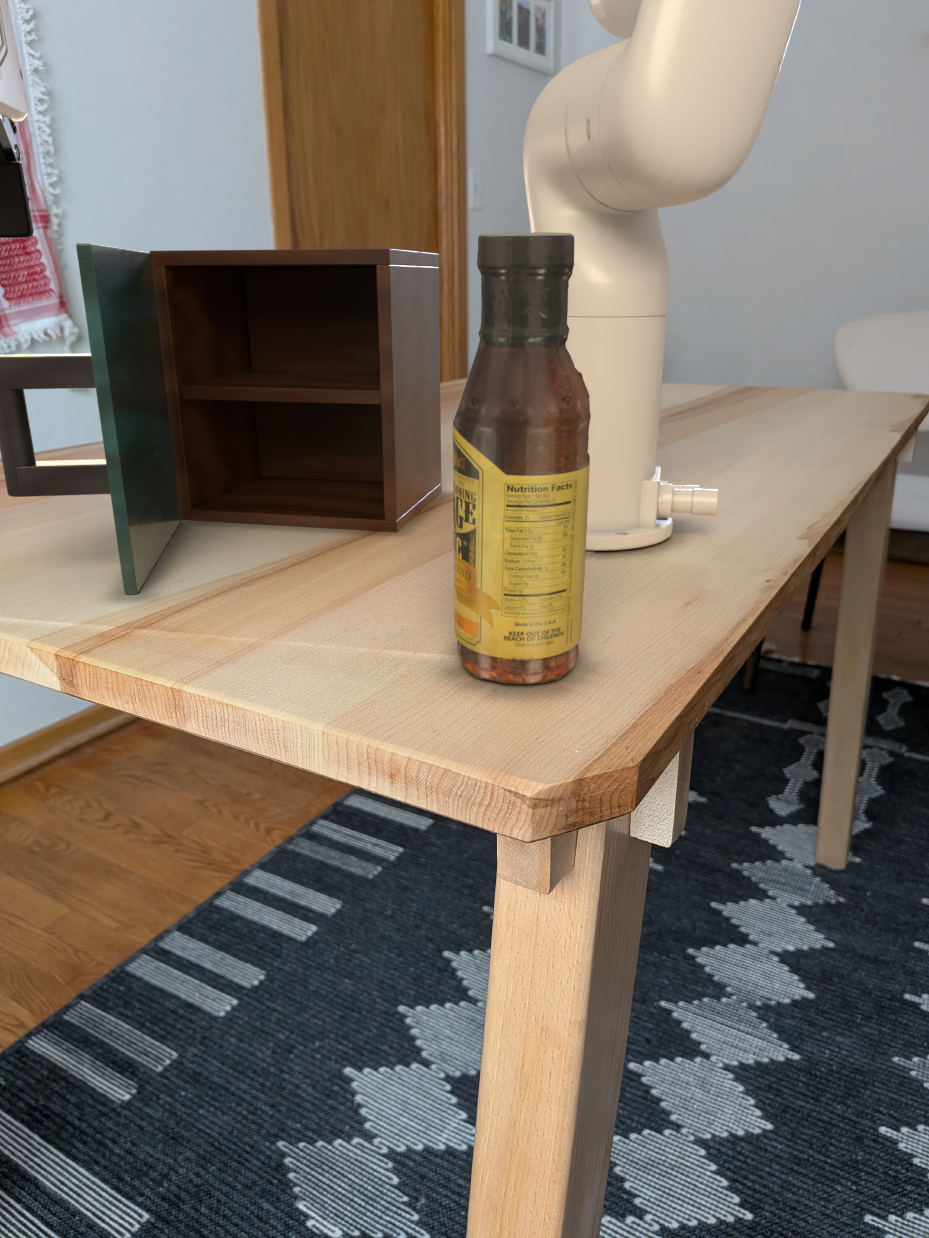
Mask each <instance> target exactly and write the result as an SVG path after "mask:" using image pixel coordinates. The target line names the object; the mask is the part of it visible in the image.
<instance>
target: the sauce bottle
mask: <svg viewBox="0 0 929 1238" xmlns="http://www.w3.org/2000/svg"><path fill="white" fill-rule="evenodd" d="M476 266H477V269H478V271H479V273H480V278H481V279H480V280H481V283H480V288H481V290H480V291H481V293H480V296H481V307H480V308H481V310H480V314H481V315H480V328H479V330H478V337H479V342H478V345H477V349H476V352H475V355H474V358H473V362H472V364H471V368H470V371H469V374H468V376H467V379H466V383H465V386H464V389H463V392H462V395H461V397H460V398H461V399H460V400H459V401H460V402H459V405H458V407H457V410H456V413H455V416H454V418H453V421H452V476H453V477H452V480H453V481H452V484H453V485H452V486H453V487H452V495H453V496H452V517H453V578H454V579H453V588H454V589H453V592H454V593H453V595H454V596H453V597H454V600H453V602H454V603H453V604H454V605H453V606H454V612H453V613H454V635H455V638H456V639H457V653H458V656H459V660H460V662H461V664H462V666H463V667H464V668H466V671H467V672H468V673H469V674H471V676H473V677H475V678H476V679H480V680H487V681H492V682H496V683H502V684H507V685H509V684H511V685H533V684H545V683H549V682H553V681H558V680H561V678H562V677H564V676H565V675H567V673H569V672H570V671H571V670H572V669H573V667H574V666H575V664H576V663H577V660H578V657H579V654H580V649H579V643H580V641H581V638H582V627H583V626H582V625H583V608H584V591H585V590H584V587H585V571H586V570H585V569H586V551H587V550H586V532H587V512H588V493H589V472H590V456H589V453H588V440H589V436H588V433H589V423H590V418H591V414H590V401H589V397H590V396H589V393H588V390H587V388H586V385H585V383H584V380H583V376H582V373H580V372H579V371H578V370H577V369H576V368H575V367H574V363H573V360H572V359H571V355H570V354H569V352H568V350H567V348H566V341H567V339H568V334H569V327H568V325H567V313H568V288H569V283H568V282H569V279H570V277H571V275H572V271H573V267H574V236H573V235H572V234H570V233H552V232H535V233H531V232H489V233H480V234H479V235H478V238H477V256H476Z"/></svg>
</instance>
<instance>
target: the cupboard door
mask: <svg viewBox="0 0 929 1238" xmlns="http://www.w3.org/2000/svg"><path fill="white" fill-rule="evenodd" d="M75 249H76V257H77V264H78V271H79V279H80V285H81V294H82V299H83V306H84V313H85V314H84V315H85V321H86V328H87V334H88V343H89V350H90V352H89V353H28V354H27V353H23V354H22V353H21V354H19V353H17V354H16V353H15V354H13V353H12V354H10V353H9V354H8V353H7V354H0V458H1V463H2V470H3V475H4V481H5V485H6V491H7V495H8V496H9V497H13V498H25V497H26V498H28V497H29V498H30V497H32V498H33V497H60V496H89V495H90V496H91V495H93V496H94V495H110V500H111V508H112V514H113V521H114V522H113V523H114V528H115V536H116V543H117V548H118V549H117V550H118V557H119V558H118V559H119V565H120V572H121V579H122V580H121V581H122V586H123V593H124V595H137V594H138V593H139V592H140V591H141V589H142V587H143V585H144V584H145V582H146V580H147V578H148V577H149V575H150V574H151V572H152V570H153V569H154V567H155V566H156V563H157V562H158V560H159V558H160V557H161V555H162V553H163V552H164V550H165V548H166V547H167V545H168V543H169V541H170V540H171V538H172V536H173V535H174V534H175V531H176V529H178V527H179V525H180V523H181V521H182V520H181V518H180V510H179V501H178V492H177V483H176V474H175V466H174V457H173V448H172V439H171V430H170V421H169V413H168V404H167V395H166V386H165V377H164V369H163V360H162V351H161V342H160V333H159V324H158V316H157V307H156V298H155V289H154V280H153V272H152V263H151V254H150V252H149V251H148V252H147V251H142V250H141V251H140V250H133V249H127V248H121V247H115V246H108V245H101V244H97V243H96V244H95V243H76V244H75ZM55 389H56V390H57V389H62V390H64V389H66V390H67V389H95V393H96V400H97V407H98V408H97V409H98V414H99V415H98V416H99V421H100V430H101V435H102V442H103V443H102V444H103V450H104V457H105V458H103V459H101V458H99V459H66V460H65V459H64V460H63V459H62V460H60V459H59V460H36V455H35V449H34V448H35V447H34V443H33V435H32V431H31V425H30V418H29V413H28V412H29V411H28V406H27V401H26V395H25V390H55Z"/></svg>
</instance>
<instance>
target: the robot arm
mask: <svg viewBox="0 0 929 1238" xmlns="http://www.w3.org/2000/svg"><path fill="white" fill-rule="evenodd" d="M587 3H588V5H589V9H590V10H591V12H592V15H593V16H594V18H595V20H596V21H597V22H598V23H599V24H600V26H601V27H602V28H603V29H604V30H606V31H607V32H608V33H609V34H611V35H613V36H614V37H616V38H619V39H620V40H621V39H622V40H621V41H618V42H613V43H612V44H609V45H607V46H605V47H603V48H601V49H598V50H597V51H594V52H592V53H590V54H588V55H585V56H584V57H581V58H579V59H577V60H576V61H573V62H572V63H570V64H568V65H567V66H566V67H563V68H562V69H561V70H560V71H559V72H557V74H556V75H555V76H553V77H552V78H551V79H550V80H549V81H548V83H546V85H545V86H544V88H543V89H542V90H541V91H540V93H539V95H538V96H537V98H536V100H535V102H534V103H533V105H532V107H531V109H530V112H529V115H528V118H527V122H526V125H525V130H524V135H523V136H524V137H523V142H522V143H523V144H522V166H523V167H522V168H523V170H522V171H523V181H524V188H525V196H526V203H527V211H528V221H529V231H530V232H529V233H535V232H552V233H570V234H572V235H573V236H574V267H573V271H572V275H571V277H570V279H569V282H568V283H569V288H568V313H567V325H568V327H569V334H568V339H567V341H566V348H567V350H568V352H569V354H570V355H571V359H572V360H573V363H574V367H575V368H576V369H577V370H578V371H579V372H580V373H582V376H583V380H584V383H585V385H586V388H587V390H588V393H589V396H590V397H589V401H590V414H591V418H590V423H589V433H588V436H589V440H588V453H589V456H590V472H589V493H588V512H587V532H586V551H594V552H595V551H598V552H599V551H600V552H601V551H621V550H632V549H640V548H645V547H649V546H653V545H657V544H659V543H661V542H664V541H665V540H667V539H668V538H670V537H671V535H672V534H673V528H674V519H673V517H672V513H676V514H677V513H678V514H690V516H708V517H716V516H717V511H718V503H719V502H718V501H719V489H717V488H701V485H698V484H697V485H696V484H695V485H694V484H683V485H678V484H674V483H670V482H669V480H661V469H662V468H661V466H657V457H658V443H659V433H660V432H659V429H660V417H661V404H662V389H663V377H664V376H663V374H664V363H665V362H664V359H665V349H666V335H667V334H666V333H667V320H668V312H669V311H668V310H669V297H670V268H669V267H670V266H669V257H668V250H667V245H666V239H665V234H664V230H663V226H662V221H661V217H660V211H659V209H660V208H669V207H675V206H680V205H681V206H682V205H685V204H689V203H693V202H697V201H699V200H702V199H705V198H707V197H709V196H711V195H713V194H714V193H716V192H718V191H720V189H722V188H723V187H724V186H726V185H727V184H728V183H729V182H730V181H731V180H732V179H733V178H734V177H735V175H736V174H737V173H738V172H739V171H740V169H741V168H742V166H743V165H744V163H745V162H746V161H747V159H748V157H749V155H750V153H751V152H752V149H753V147H754V145H755V143H756V141H757V139H758V138H759V134H760V132H761V129H762V127H763V124H764V121H765V118H766V116H767V112H768V109H769V106H770V103H771V100H772V97H773V94H774V90H775V87H776V84H777V80H778V78H779V75H780V72H781V68H782V64H783V61H784V58H785V56H786V52H787V49H788V45H789V43H790V39H791V35H792V33H793V29H794V26H795V22H796V20H797V17H798V13H799V9H800V7H801V4H802V0H587ZM11 16H12V15H11V12H10V7H9V2H8V0H0V239H27V238H28V239H29V238H31V237H32V236H33V235H34V225H33V220H32V213H31V208H30V202H29V197H28V191H27V184H26V180H25V174H24V167H23V163H22V153H21V148H20V145H19V143H18V140H17V137H16V134H17V133H18V129H17V125H15V124H16V123H15V122H23V121H24V120H25V119H26V117H27V116H28V115H29V111H30V106H29V105H30V104H29V100H28V95H27V90H26V84H25V79H24V75H23V70H22V64H21V61H20V60H21V59H20V54H19V49H18V44H17V41H16V35H15V31H14V26H13V22H12V17H11Z"/></svg>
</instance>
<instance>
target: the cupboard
mask: <svg viewBox="0 0 929 1238" xmlns="http://www.w3.org/2000/svg"><path fill="white" fill-rule="evenodd" d="M149 253H150V254H151V263H152V272H153V280H154V289H155V298H156V307H157V316H158V324H159V333H160V342H161V351H162V360H163V369H164V377H165V386H166V395H167V404H168V413H169V421H170V430H171V439H172V448H173V457H174V466H175V474H176V483H177V492H178V501H179V510H180V518H181V521H189V522H205V523H223V524H239V525H240V524H241V525H259V526H275V527H276V526H277V527H291V528H292V527H293V528H308V529H309V528H311V529H312V528H313V529H327V530H328V529H329V530H346V531H362V532H379V533H381V532H382V533H398V532H400V531H401V530H402V529H403V528H404V527H405V526H406V525H408V524H409V523H410V522H411V521H412V520H413V519H414V518H415V517H416V516H418V515H419V514H420V513H421V512H423V510H424V509H425V508H427V507H428V506H429V505H430V504H431V503H432V502H434V500H435V499H436V498H438V497H439V496H440V495H441V494H442V427H441V426H442V425H441V424H442V421H441V420H442V419H441V416H442V415H441V328H440V327H441V325H440V323H441V322H440V254H439V253H437V252H436V253H435V252H426V251H417V250H415V251H414V250H406V249H396V248H309V249H307V248H305V249H304V248H303V249H302V248H301V249H300V248H299V249H297V248H296V249H295V248H294V249H199V250H198V249H197V250H196V249H194V250H192V249H190V250H185V249H183V250H149Z"/></svg>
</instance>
